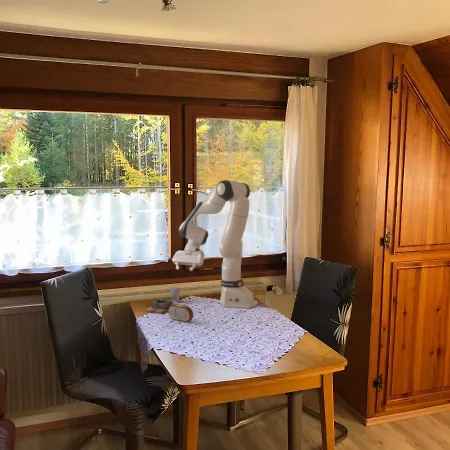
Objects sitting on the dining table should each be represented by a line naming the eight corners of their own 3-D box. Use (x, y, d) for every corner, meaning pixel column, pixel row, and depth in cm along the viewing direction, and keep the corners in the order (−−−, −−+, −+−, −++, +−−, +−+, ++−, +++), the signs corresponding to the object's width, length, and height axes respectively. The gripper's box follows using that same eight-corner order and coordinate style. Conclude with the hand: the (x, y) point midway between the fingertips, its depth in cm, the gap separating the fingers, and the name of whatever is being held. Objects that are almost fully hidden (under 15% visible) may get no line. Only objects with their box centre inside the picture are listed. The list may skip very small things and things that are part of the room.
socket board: (177, 305, 284) (177, 298, 283) (162, 314, 268) (162, 306, 268) (161, 303, 288) (161, 296, 288) (145, 311, 273) (145, 304, 272)
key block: (179, 301, 292) (178, 287, 291) (176, 302, 290) (176, 288, 289) (173, 300, 294) (172, 286, 293) (170, 302, 291) (170, 288, 290)
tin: (193, 322, 255) (193, 306, 254) (190, 323, 252) (189, 308, 251) (171, 317, 263) (170, 302, 262) (167, 319, 260) (167, 303, 259)
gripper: (174, 247, 310) (167, 265, 302) (203, 249, 302) (196, 268, 294) (178, 253, 314) (171, 271, 307) (207, 255, 306) (200, 274, 299)
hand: (183, 269), depth 300 cm, fingers open, 8 cm apart
